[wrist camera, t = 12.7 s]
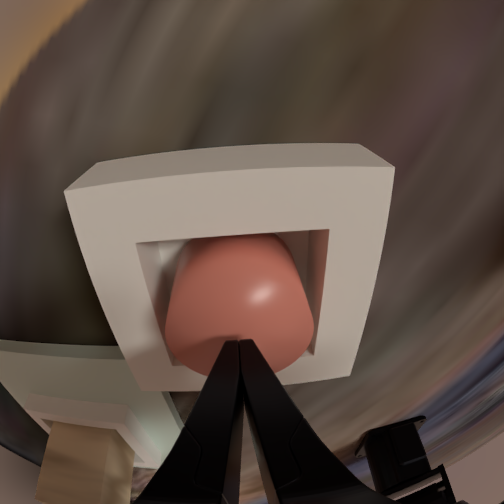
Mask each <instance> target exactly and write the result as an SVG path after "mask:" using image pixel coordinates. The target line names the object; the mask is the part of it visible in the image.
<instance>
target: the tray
mask: <svg viewBox="0 0 504 504" xmlns="http://www.w3.org/2000/svg"><path fill="white" fill-rule="evenodd" d="M0 382H1V383H2V385H3V386H4V387H5V388H6V389H7V391H8V392H9V393H10V394H11V395H12V396H13V397H14V399H15V400H16V401H17V402H18V403H19V404H20V405H21V406H22V407H23V409H24V410H25V411H26V412H27V413H28V414H29V415H30V416H31V417H32V418H33V419H34V420H35V421H36V422H37V423H38V424H39V425H40V426H41V427H42V428H43V429H44V430H45V431H46V432H47V433H48V434H49V435H50V431H51V428H52V424H53V421H58V422H64V423H70V424H76V425H83V426H90V427H98V428H106V429H116V430H117V432H118V433H119V434H120V435H121V436H122V437H123V439H124V440H125V441H126V442H127V443H128V444H129V446H130V447H131V448H132V449H133V450H134V451H135V456H134V464H133V467H142V468H154V469H159V467H160V466H161V465H162V463H163V462H164V460H165V458H166V457H167V455H168V454H169V452H170V451H171V449H172V447H173V445H174V444H175V442H176V440H177V438H178V436H179V434H180V432H181V430H182V428H183V427H184V424H183V422H182V420H181V418H180V416H179V414H178V412H177V410H176V407H175V405H174V403H173V401H172V398H171V396H170V394H169V392H168V391H141V389H140V387H139V385H138V383H137V382H136V380H135V378H134V376H133V374H132V372H131V370H130V368H129V366H128V364H127V362H126V360H125V358H124V355H123V353H122V351H121V349H120V347H119V346H93V345H67V344H49V343H34V342H22V341H11V340H1V339H0Z"/></svg>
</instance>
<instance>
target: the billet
mask: <svg viewBox="0 0 504 504" xmlns="http://www.w3.org/2000/svg"><path fill="white" fill-rule="evenodd" d="M134 456H135V451H134V450H133V449H132V448H131V447H130V446H129V444H128V443H127V442H126V441H125V440H124V439H123V437H122V436H121V435H120V434H119V433H118V432H117V430H116V429H106V428H98V427H90V426H83V425H76V424H70V423H64V422H58V421H53V424H52V428H51V431H50V435H49V438H48V442H47V446H46V450H45V454H44V458H43V462H42V466H41V471H40V475H39V481H38V485H37V490H36V495H35V499H36V500H38V501H39V502H41V503H43V504H130V494H131V484H132V474H133V464H134Z"/></svg>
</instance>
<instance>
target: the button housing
mask: <svg viewBox="0 0 504 504" xmlns="http://www.w3.org/2000/svg"><path fill="white" fill-rule="evenodd" d="M394 172H395V167H394V166H392V165H391V164H390V163H388V162H386V161H385V160H383V159H382V158H380V157H379V156H377V155H376V154H374V153H373V152H371V151H370V150H368V149H366V148H365V147H363V146H362V145H360V144H346V143H293V144H262V145H243V146H227V147H214V148H203V149H192V150H182V151H173V152H165V153H157V154H149V155H142V156H135V157H128V158H121V159H115V160H109V161H103V162H97V163H96V164H95V165H94V166H93V167H91V168H90V169H89V170H88V171H86V172H85V173H84V174H83V175H82V176H81V177H79V178H78V179H77V180H76V181H75V182H74V183H72V184H71V185H70V186H69V187H68V188H67V189H66V190H64V194H65V198H66V202H67V205H68V209H69V212H70V216H71V219H72V223H73V226H74V230H75V233H76V236H77V239H78V242H79V245H80V249H81V252H82V255H83V258H84V260H85V263H86V266H87V269H88V272H89V275H90V277H91V280H92V283H93V285H94V288H95V291H96V293H97V296H98V298H99V301H100V303H101V306H102V308H103V311H104V313H105V315H106V318H107V320H108V322H109V325H110V327H111V329H112V332H113V334H114V336H115V338H116V341H117V343H118V345H119V347H120V349H121V351H122V353H123V355H124V358H125V360H126V362H127V364H128V366H129V368H130V370H131V372H132V374H133V376H134V378H135V380H136V382H137V383H138V385H139V387H140V389H141V391H201V389H202V387H203V385H204V383H205V381H206V379H207V377H208V376H204V375H202V374H199V373H197V372H195V371H193V370H191V369H189V368H188V367H186V366H185V365H183V364H182V363H181V362H180V361H179V360H178V359H177V358H176V357H175V356H174V355H173V353H172V352H171V350H170V349H169V347H168V344H167V342H166V337H165V324H166V318H167V313H168V307H169V302H170V297H171V292H172V287H173V282H174V277H175V272H176V267H177V262H178V259H179V256H180V254H181V252H182V250H183V249H184V247H185V246H186V245H187V243H188V242H189V241H190V240H191V239H192V238H201V237H215V236H228V235H242V234H256V233H271V232H273V233H275V234H276V235H277V236H279V237H280V238H281V239H282V240H283V241H284V242H285V244H286V245H287V246H288V248H289V249H290V251H291V253H292V256H293V259H294V262H295V265H296V268H297V271H298V274H299V277H300V280H301V283H302V286H303V289H304V292H305V295H306V298H307V301H308V304H309V308H310V311H311V314H312V317H313V322H314V332H313V336H312V339H311V342H310V344H309V346H308V347H307V349H306V351H305V352H304V353H303V354H302V355H301V356H300V357H299V358H298V359H297V360H296V361H295V362H294V363H292V364H291V365H290V366H288V367H286V368H285V369H283V370H281V371H279V372H277V373H275V374H276V376H277V378H278V379H279V381H280V382H281V384H282V385H288V384H297V383H305V382H312V381H319V380H326V379H332V378H338V377H344V376H350V373H351V370H352V367H353V364H354V360H355V357H356V354H357V350H358V347H359V343H360V340H361V336H362V333H363V329H364V326H365V322H366V318H367V314H368V310H369V306H370V302H371V298H372V294H373V290H374V286H375V281H376V277H377V272H378V267H379V263H380V258H381V253H382V248H383V243H384V237H385V232H386V226H387V220H388V214H389V208H390V201H391V194H392V187H393V180H394Z"/></svg>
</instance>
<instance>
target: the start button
mask: <svg viewBox="0 0 504 504" xmlns="http://www.w3.org/2000/svg"><path fill="white" fill-rule="evenodd" d="M313 332H314V322H313V317H312V314H311V311H310V308H309V304H308V301H307V298H306V295H305V292H304V289H303V286H302V283H301V280H300V277H299V274H298V271H297V268H296V265H295V262H294V259H293V256H292V253H291V251H290V249H289V248H288V246H287V245H286V244H285V242H284V241H283V240H282V239H281V238H280V237H279V236H277V235H276V234H275V233H273V232H271V233H256V234H242V235H228V236H215V237H201V238H192V239H191V240H190V241H189V242H188V243H187V245H186V246H185V247H184V249H183V250H182V252H181V254H180V256H179V259H178V262H177V267H176V272H175V277H174V282H173V287H172V292H171V297H170V302H169V307H168V313H167V318H166V324H165V337H166V342H167V344H168V347H169V349H170V350H171V352H172V353H173V355H174V356H175V357H176V358H177V359H178V360H179V361H180V362H181V363H182V364H183V365H185V366H186V367H188V368H189V369H191V370H193V371H195V372H197V373H199V374H202V375H204V376H208V375H209V373H210V371H211V369H212V367H213V365H214V363H215V360H216V358H217V356H218V354H219V352H220V350H221V348H222V346H223V344H224V342H225V341H226V340H238V341H239V340H240V339H253V340H254V342H255V344H256V345H257V347H258V348H259V350H260V351H261V353H262V354H263V356H264V358H265V359H266V361H267V362H268V364H269V365H270V367H271V368H272V370H273V371H274V373H277V372H279V371H281V370H283V369H285V368H286V367H288V366H290V365H291V364H292V363H294V362H295V361H296V360H297V359H298V358H299V357H300V356H301V355H302V354H303V353H304V352H305V351H306V349H307V347H308V346H309V344H310V342H311V339H312V336H313Z"/></svg>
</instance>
